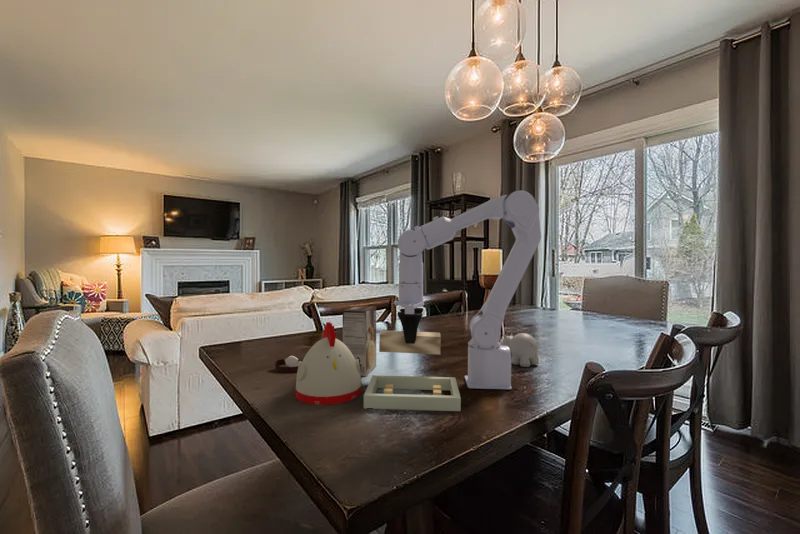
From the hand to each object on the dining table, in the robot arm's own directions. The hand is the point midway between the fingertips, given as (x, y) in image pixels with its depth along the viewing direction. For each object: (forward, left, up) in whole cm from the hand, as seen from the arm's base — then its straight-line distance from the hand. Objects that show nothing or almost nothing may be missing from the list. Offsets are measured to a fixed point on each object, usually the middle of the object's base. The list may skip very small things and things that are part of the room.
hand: (410, 340), depth 89 cm
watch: (+31, -6, -10) cm, 33 cm away
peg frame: (-1, +11, -9) cm, 15 cm away
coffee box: (+13, -7, -10) cm, 18 cm away
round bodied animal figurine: (-29, -18, -10) cm, 35 cm away
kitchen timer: (+17, +9, -10) cm, 22 cm away
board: (0, 0, -2) cm, 2 cm away
